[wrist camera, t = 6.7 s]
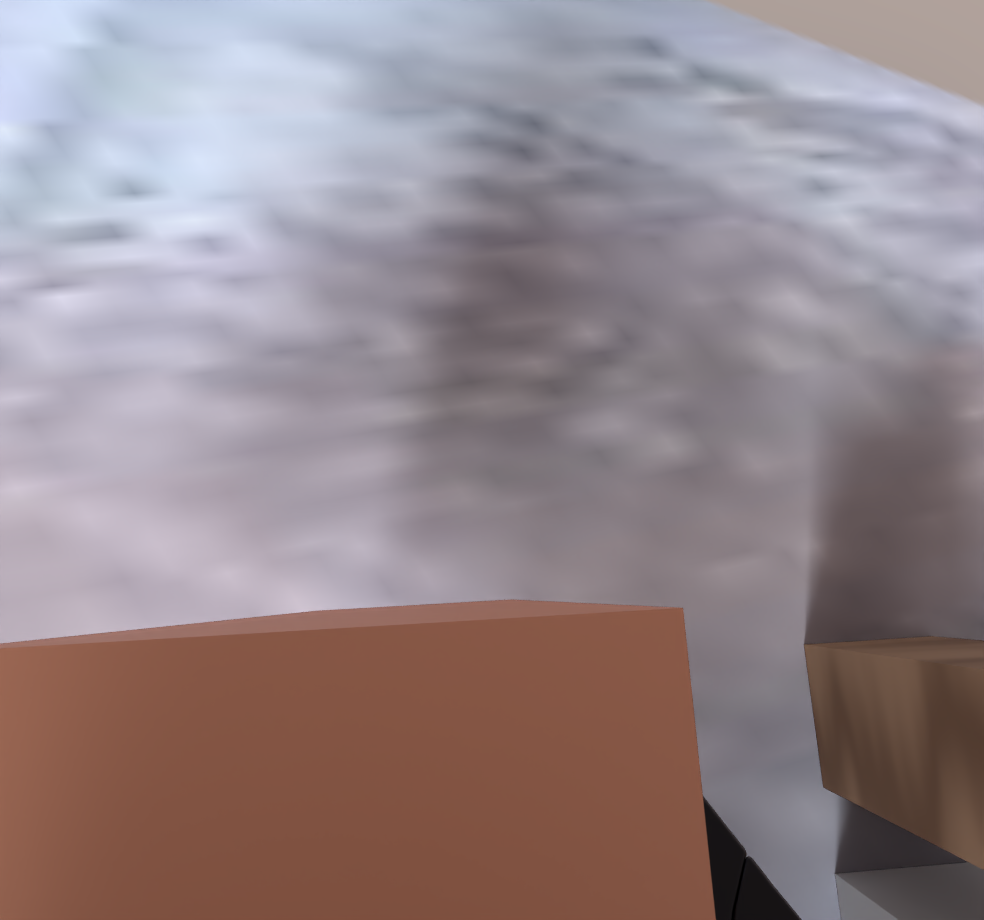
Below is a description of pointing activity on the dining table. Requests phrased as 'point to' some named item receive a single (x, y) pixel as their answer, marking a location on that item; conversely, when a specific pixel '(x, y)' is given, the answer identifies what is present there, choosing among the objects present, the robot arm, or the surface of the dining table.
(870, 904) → the slate block
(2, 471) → the dining table surface
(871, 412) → the dining table surface
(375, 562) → the dining table surface
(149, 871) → the rust block
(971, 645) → the walnut block
